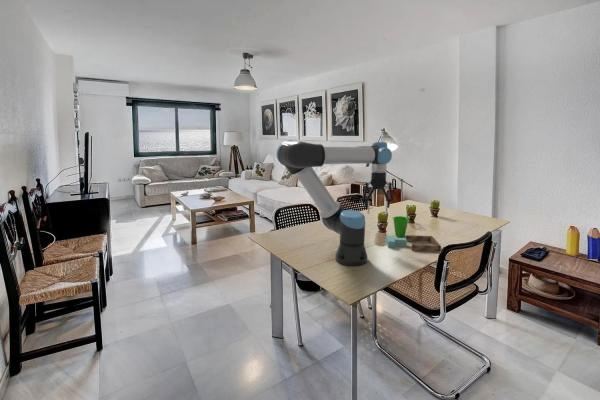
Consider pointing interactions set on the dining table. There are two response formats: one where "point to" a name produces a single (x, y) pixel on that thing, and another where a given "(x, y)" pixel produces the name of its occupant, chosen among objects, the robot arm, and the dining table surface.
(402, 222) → the cup
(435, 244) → the corral
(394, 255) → the dining table surface
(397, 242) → the tee
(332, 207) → the robot arm
